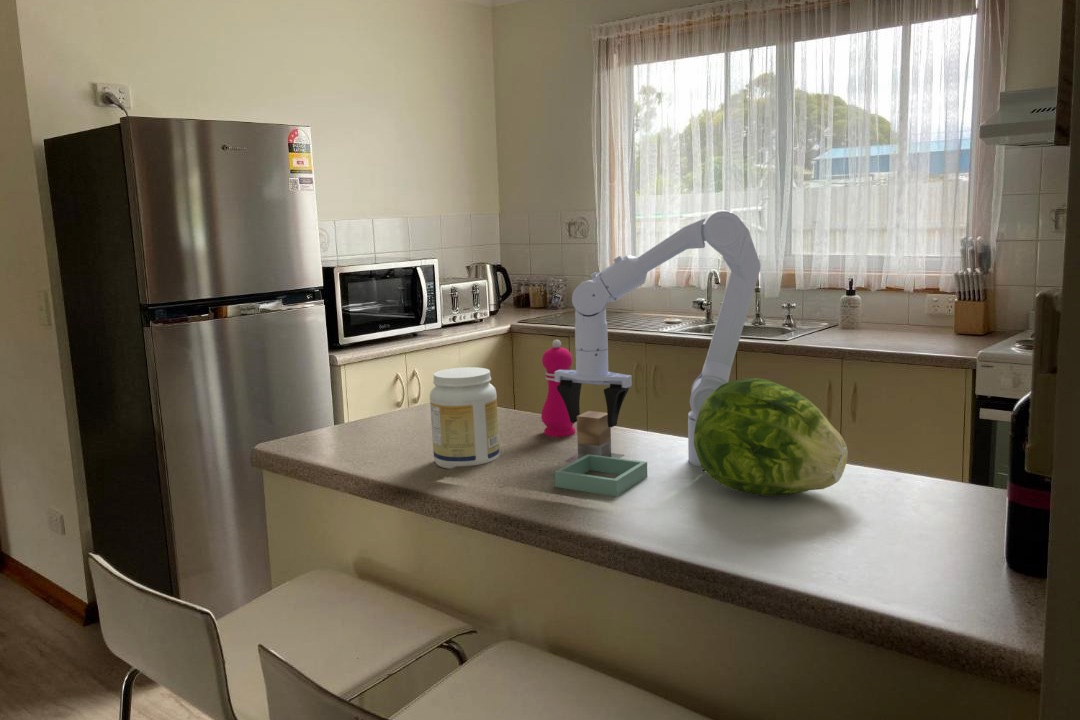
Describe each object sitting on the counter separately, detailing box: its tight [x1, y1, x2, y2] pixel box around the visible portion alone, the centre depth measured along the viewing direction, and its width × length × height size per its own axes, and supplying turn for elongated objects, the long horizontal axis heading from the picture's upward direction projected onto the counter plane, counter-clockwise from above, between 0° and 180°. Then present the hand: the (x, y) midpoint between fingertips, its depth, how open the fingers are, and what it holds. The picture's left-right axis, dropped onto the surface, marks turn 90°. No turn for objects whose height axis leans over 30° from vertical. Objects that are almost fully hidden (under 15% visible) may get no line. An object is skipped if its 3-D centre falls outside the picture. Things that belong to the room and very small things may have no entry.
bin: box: [554, 454, 648, 497], centre depth 141 cm, size 11×11×4 cm
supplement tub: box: [429, 366, 500, 470], centre depth 157 cm, size 12×12×17 cm
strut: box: [576, 410, 612, 459], centre depth 154 cm, size 4×4×8 cm
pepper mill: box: [540, 339, 576, 438], centre depth 172 cm, size 7×7×20 cm
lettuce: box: [694, 377, 849, 497], centre depth 133 cm, size 19×23×18 cm
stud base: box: [565, 452, 625, 463], centre depth 154 cm, size 8×8×3 cm
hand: (593, 423), depth 153 cm, fingers open, 7 cm apart
